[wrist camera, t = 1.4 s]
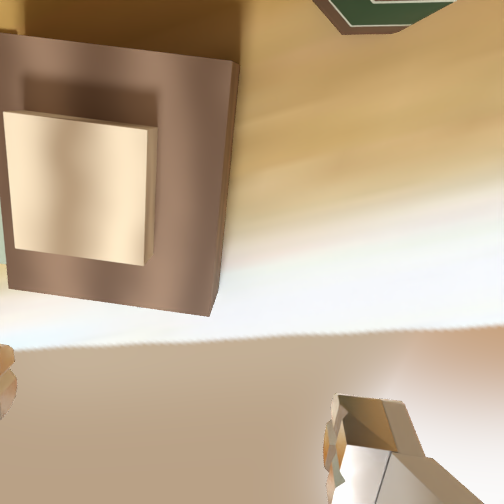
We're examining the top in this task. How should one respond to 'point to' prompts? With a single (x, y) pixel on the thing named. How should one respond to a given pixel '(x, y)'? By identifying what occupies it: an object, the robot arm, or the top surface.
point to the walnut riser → (167, 169)
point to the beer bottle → (377, 14)
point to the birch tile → (82, 186)
